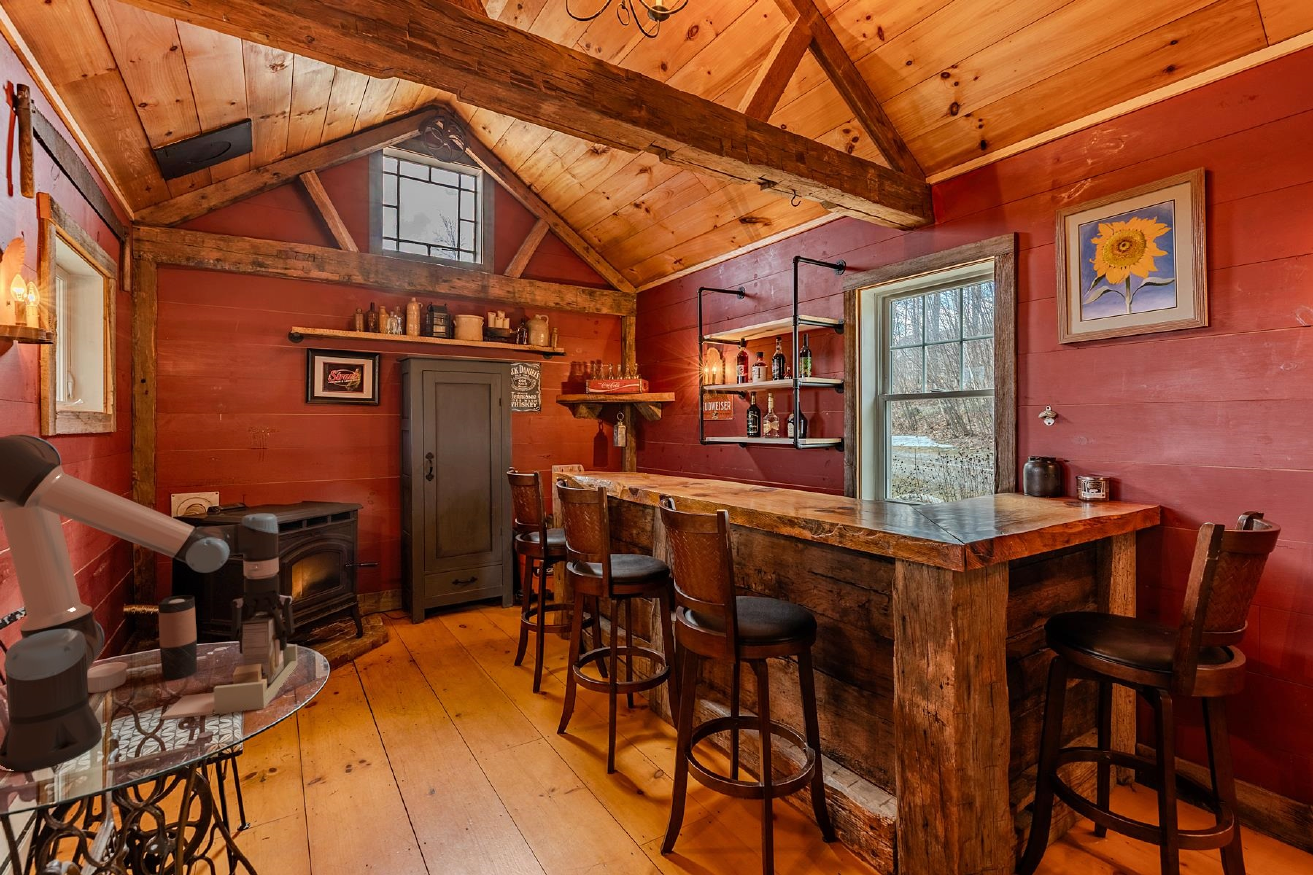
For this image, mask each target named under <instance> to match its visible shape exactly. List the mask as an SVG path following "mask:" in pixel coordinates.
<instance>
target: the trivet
mask: <svg viewBox="0 0 1313 875" xmlns="http://www.w3.org/2000/svg"><path fill="white" fill-rule="evenodd" d="M213 714H215V706H214V692H209V693H207V692H206V693H200V694H199V693H198V694H188V695H187V694H186V695H183V696H182V697H180V699H179V700H178V701H176V702H175V703H174V704H173V705H172V706H171V707H170V708H169V709H167V711H166V712H164V713H163V714H162V715H161V718H160V720H171V719H181V718H188V717H189V718H190V717H198V716H209V715H213Z"/></svg>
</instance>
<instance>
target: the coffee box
mask: <svg viewBox="0 0 1313 875" xmlns="http://www.w3.org/2000/svg"><path fill="white" fill-rule="evenodd" d="M278 613H279V615H280V617H281V620H282V621H283V609H278ZM240 626H241V631H242V654H241V656H242V666H248V665H255V664H261V676H262V679H267V685H271V684H272V683H273V682H274V681H275V680H276V678H277V677H278V676H279V675H280V674H281V672H282V671H283V670H284V659H283V661H282V662H281V663H280V664H279V665H276V649H275V640H276V639H277V638H278V635H277V633H276V630H275V618H274V617H270V616H269V615H268V614H267V612H258V613H256V615H255V616H254V617H252V618H248V619H246V618H245V620H243V621H241V624H240Z"/></svg>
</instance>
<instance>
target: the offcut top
mask: <svg viewBox="0 0 1313 875" xmlns="http://www.w3.org/2000/svg"><path fill="white" fill-rule="evenodd" d="M261 680H262V676H261V664H255V665H248V666H243V665H241V666H237V667H235V670H234V672H232V684H242V683H252V682H261Z"/></svg>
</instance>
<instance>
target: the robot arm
mask: <svg viewBox="0 0 1313 875" xmlns="http://www.w3.org/2000/svg"><path fill="white" fill-rule="evenodd" d="M0 516H1V521H2V525H3V528H4V533H5V536H6V540H7V541H6V542H7V544H8V547H9V548H8V549H9V552H10V554H11V555H10V556H11V559H12V564H13V567H14V570H15V575H16V578H17V583H18V586H19V591H20V594H21V597H22V602H23V605H24V608H25V613H26V616H27V617H26V619H25V621H24V622H23V623H22V624H21V625H20V627H19V631H20V635H21V639H19V640H18V641H16V642H15V643H13V644H12V645H10V647H8V649H7V651H6V653H5V659H4V663H3V668H4V670H3V671H5V683H6V684H5V685H6V696H7V698H6V700H7V714H8V726H7V729H6V732H5V735H4V736H3V740H2V743H1V746H0V765H1V766H3V767H5V768H6V769H11V770H14V771H17V772H20V773H22V772H29V771H35V770H38V769H44V768H47V767H51V766H55V765H57V764H61V763H63V762H66V761H69V760H72V759H73V758H76V757H78V756H81V755H82V754H85V753H87V752H88V751H90V750H92V749H93V748H94V747H95V746H97V745H98V744H99V743H100V742H101V741H102V739H103V729H102V725H101V723H100V722H99V720H98V717H97V716H96V713H94V710H93V709H92V706H91V705H90V701H89V700H90V699H89V697H90V696H89V693H88V677H87V673H88V670H89V669H90V668H92V665H93V664H94V663H95V661H96V659H97V658H98V657H99V656H100V654H101V652H102V651H103V648H104V643H105V632H104V629H103V628H102V626H101V624H100V623H98V621H97V620H96V619H95V614H94V610H93V608H92V606H90V605H86V604H84V603H82V601H81V598H80V593H79V589H78V585H77V580H76V577H75V573H74V569H73V565H72V561H71V558H70V554H69V550H68V545H67V540H66V537H65V533H64V528H63V525H62V522H61V517H65V518H67V519H70V520H73V521H74V522H78V523H80V524H83V525H86V526H88V527H91V528H94V529H96V530H99V531H102V532H104V533H106V534H109V535H112V536H114V537H118V538H120V539H123V540H126V541H128V542H131V543H133V544H136V545H139V546H141V547H144V548H147V549H149V550H151V551H154V552H157V553H160V554H163V555H165V556H168V557H170V558H172V559H175V560H178V561H180V562H182V563H185V564H187V566H188V567H189V568H191V570H193V571H194V572H198V573H203V574H204V573H205V574H206V573H212V572H215V571H217V570H219V569H220V568H221V567H223V566H224V564H225V563H226V562H227V561H228V560H229V556H236V555H238V556H239V555H243V559H242V560H243V562H242V563H243V576H244V579H243V592H244V593H243V596H242V597H240V598H235V599H233V600H232V601H230V603H229V605H230V608H231V623H230V624H231V625H230V636H229V638H230V640H232V641H238V643H239V654H241V655H242V630H241V623H242V611H243V609H242V607H243V605H244V604H245V606H247V608H248V610H247V613H246V616H245V620H246V619H248V618H252V617H254V616H255V615H256V613H258V612H267V614H268V615H269V616H270V617H274V618H275V630H276V633H277V635H278V638H277V639H276V640H275V649H276V665H279V664H280V663H281V662H282V661H283V651H284V650H285V649H286V647H287V645H288V643H287V640H288V639H287V637H290V636H292V635H293V634H294V633H295V622H294V615H293V612H294V611H293V606H292V604H293V600H294V595H292V594H291V595H282V593H281V592H280V574H278V572H279V571H280V568H279V566H280V564H279V562H280V561H279V529H278V528H279V526H278V517H277V516H276V515H275V514H273V513H268V512H267V513H265V512H263V513H254V514H246V515H245V516H243V517H242V519H241V523H237V524H229V525H227V524H226V525H217V526H215V525H214V526H213V525H212V526H198V527H196V526H194V525H191V524H188V523H186V522H184V521H181V520H179V519H176V518H174V517H171V516H169V515H167V514H165V513H163V512H160V511H157V510H155V509H153V508H149V507H148V506H145V505H143V504H140V503H137V502H135V501H133V500H130V499H128V498H125V497H123V496H120V495H118V494H115V493H113V492H111V491H109V490H106V489H103V488H100V487H99V486H96V485H93V484H91V483H88V482H86V481H84V480H82V479H80V478H77V477H74V476H72V475H70V474H66V473H65V472H64V469H63V467H62V459H61V455H60V453H59V450H58V449H57V448H56V447H55V446H54V445H53V444H52V443H51V442H49V441H47V440H45V439H43V438H40V437H38V436H34V435H28V434H10V435H5V436H0ZM60 516H61V517H60ZM279 602H281V603H280V604H281V605H282V608H283V609H282V612H283V616H284V617H283V619H284V623H283V619H282V620H281V617H280V615H279V613H278V610H279V608H278V606H277V604H278V603H279ZM284 624H285V625H284ZM17 772H16V773H17Z"/></svg>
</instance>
